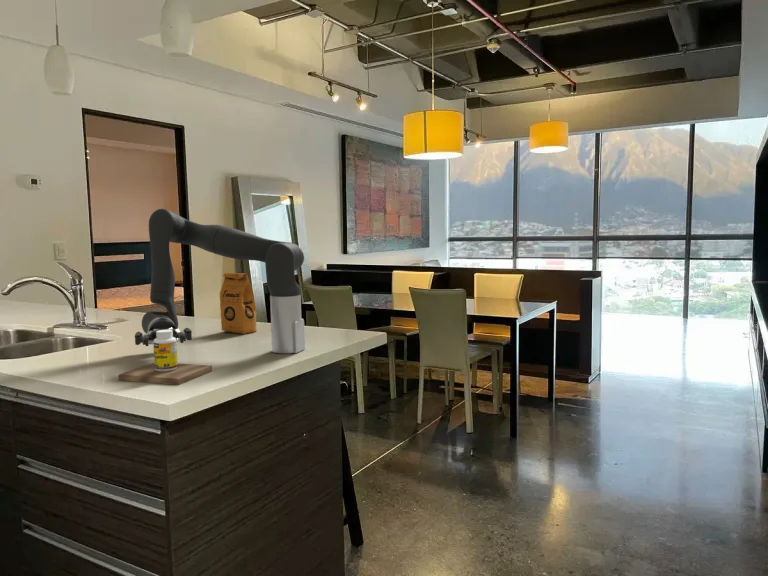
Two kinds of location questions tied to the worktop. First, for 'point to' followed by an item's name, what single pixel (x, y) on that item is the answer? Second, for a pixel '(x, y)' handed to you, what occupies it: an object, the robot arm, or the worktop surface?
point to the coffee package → (237, 304)
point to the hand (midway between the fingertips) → (164, 340)
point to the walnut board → (165, 374)
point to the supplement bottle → (165, 351)
